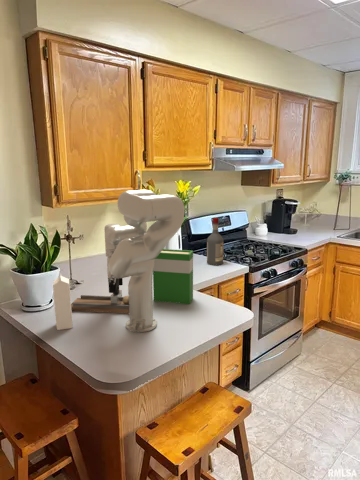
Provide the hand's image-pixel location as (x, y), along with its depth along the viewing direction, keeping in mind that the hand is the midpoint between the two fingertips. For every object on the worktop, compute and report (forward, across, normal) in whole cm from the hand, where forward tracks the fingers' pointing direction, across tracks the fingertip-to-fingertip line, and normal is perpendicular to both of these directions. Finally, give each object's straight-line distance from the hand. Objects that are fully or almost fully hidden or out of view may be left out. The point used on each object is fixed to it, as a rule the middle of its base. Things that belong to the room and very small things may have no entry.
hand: (116, 288), depth 161 cm
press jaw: (+7, 0, 0) cm, 7 cm away
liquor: (+10, +77, -42) cm, 88 cm away
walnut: (+5, 0, -5) cm, 7 cm away
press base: (+9, 0, +5) cm, 10 cm away
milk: (+10, -20, +16) cm, 27 cm away
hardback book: (+10, +13, -24) cm, 29 cm away
